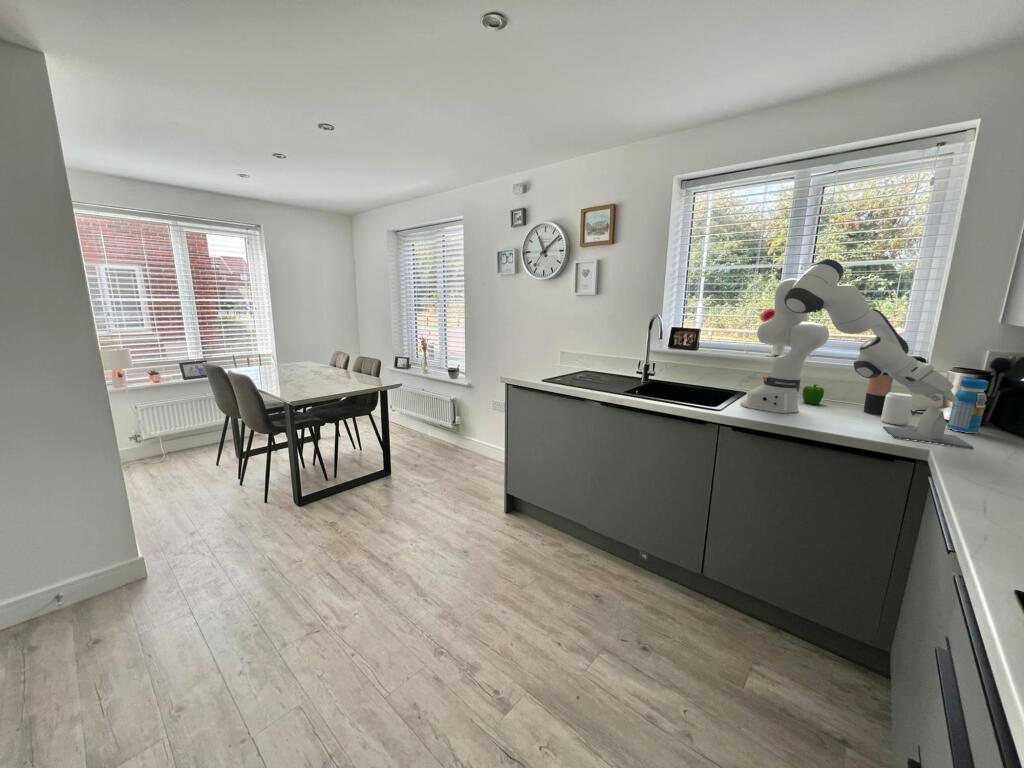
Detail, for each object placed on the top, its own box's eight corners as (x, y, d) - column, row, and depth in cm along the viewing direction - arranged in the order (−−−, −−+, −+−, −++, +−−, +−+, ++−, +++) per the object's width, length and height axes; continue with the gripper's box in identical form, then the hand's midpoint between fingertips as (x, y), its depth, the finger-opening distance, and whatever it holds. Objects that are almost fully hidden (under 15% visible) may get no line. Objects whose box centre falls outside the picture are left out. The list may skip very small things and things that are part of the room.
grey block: (929, 438, 143) (936, 411, 141) (916, 432, 149) (922, 406, 147) (942, 439, 142) (949, 412, 140) (928, 433, 148) (934, 407, 146)
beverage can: (913, 426, 160) (919, 397, 157) (889, 425, 161) (895, 395, 159) (898, 421, 168) (904, 392, 165) (875, 419, 169) (881, 391, 167)
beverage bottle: (947, 431, 155) (960, 379, 151) (944, 426, 162) (956, 376, 158) (980, 436, 150) (994, 382, 146) (976, 430, 156) (989, 379, 152)
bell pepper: (801, 400, 201) (805, 380, 199) (822, 403, 196) (826, 382, 194) (800, 403, 195) (803, 382, 193) (821, 406, 190) (825, 385, 188)
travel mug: (866, 414, 178) (876, 368, 173) (859, 409, 184) (868, 366, 180) (888, 416, 175) (898, 370, 171) (880, 411, 182) (890, 367, 178)
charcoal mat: (893, 438, 145) (894, 436, 145) (882, 428, 157) (883, 426, 157) (973, 449, 136) (973, 446, 135) (954, 437, 148) (955, 435, 147)
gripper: (887, 380, 155) (922, 406, 150) (915, 377, 136) (956, 407, 132) (902, 368, 153) (938, 394, 149) (933, 363, 134) (974, 393, 130)
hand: (946, 400), depth 140 cm, fingers open, 8 cm apart
